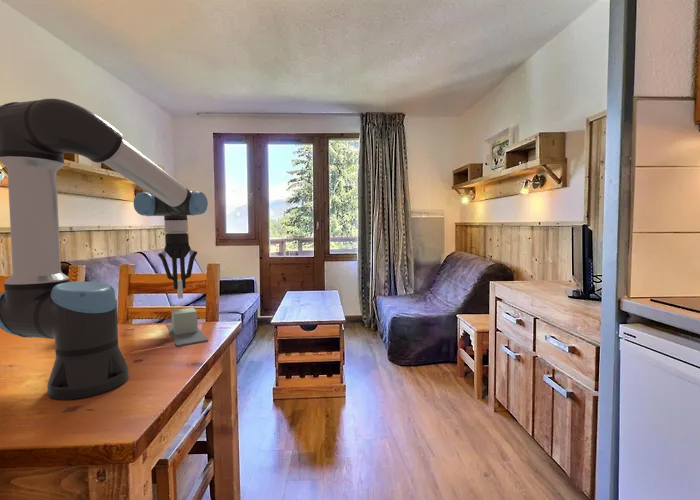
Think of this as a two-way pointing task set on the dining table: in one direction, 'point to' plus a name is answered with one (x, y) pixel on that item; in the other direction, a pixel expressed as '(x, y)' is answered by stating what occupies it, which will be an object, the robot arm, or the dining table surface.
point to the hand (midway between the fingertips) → (180, 297)
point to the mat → (187, 337)
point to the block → (184, 321)
